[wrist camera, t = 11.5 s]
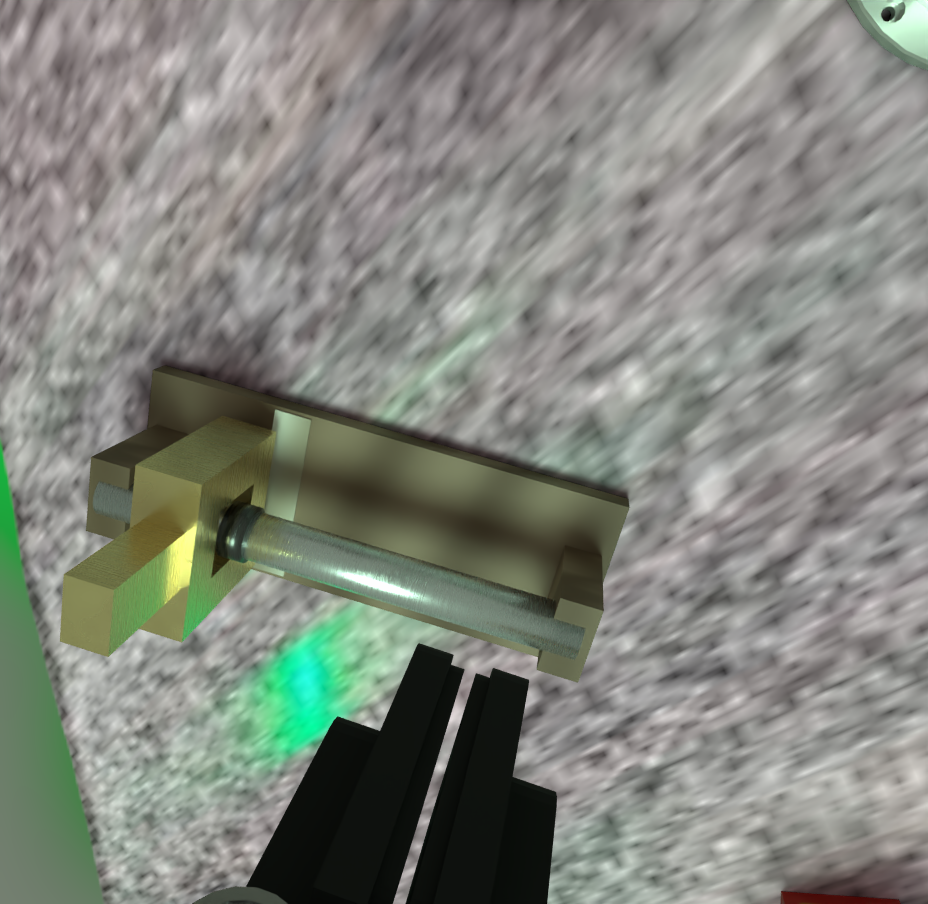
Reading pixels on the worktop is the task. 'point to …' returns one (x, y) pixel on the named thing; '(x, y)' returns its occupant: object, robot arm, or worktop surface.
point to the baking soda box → (830, 899)
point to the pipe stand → (399, 501)
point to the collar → (169, 541)
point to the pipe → (377, 574)
